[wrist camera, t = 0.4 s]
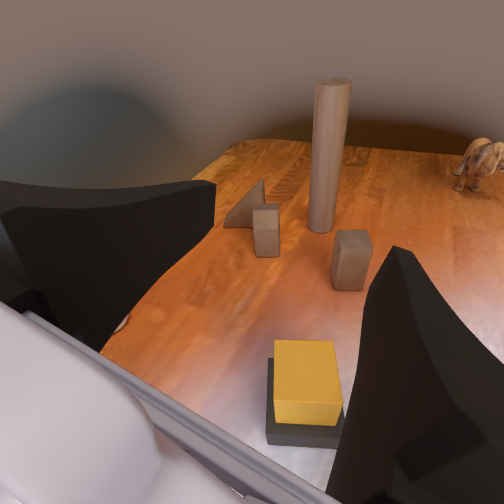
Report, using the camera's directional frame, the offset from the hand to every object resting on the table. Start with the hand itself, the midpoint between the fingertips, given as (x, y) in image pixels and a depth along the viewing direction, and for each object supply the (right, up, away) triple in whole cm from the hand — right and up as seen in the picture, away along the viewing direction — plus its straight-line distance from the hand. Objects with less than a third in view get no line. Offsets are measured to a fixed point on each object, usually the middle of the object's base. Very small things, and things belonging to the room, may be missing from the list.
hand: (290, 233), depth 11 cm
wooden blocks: (+3, 0, +30) cm, 30 cm away
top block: (+3, -12, +12) cm, 17 cm away
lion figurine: (+38, +11, +38) cm, 55 cm away
